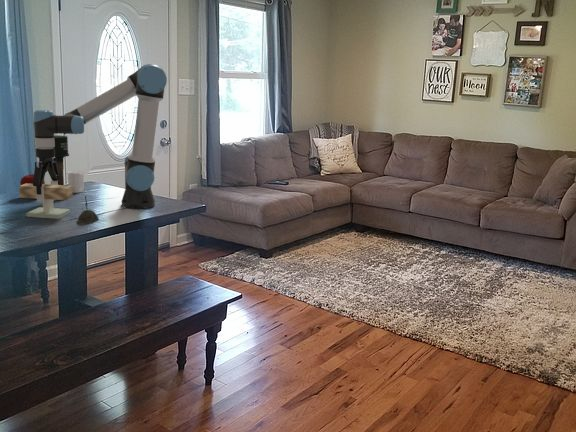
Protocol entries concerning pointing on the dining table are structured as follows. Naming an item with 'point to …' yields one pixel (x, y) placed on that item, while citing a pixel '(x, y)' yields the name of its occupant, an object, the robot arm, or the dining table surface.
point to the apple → (28, 179)
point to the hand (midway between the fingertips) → (47, 198)
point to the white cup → (76, 181)
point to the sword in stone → (87, 216)
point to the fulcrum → (48, 211)
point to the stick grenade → (61, 154)
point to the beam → (47, 191)
